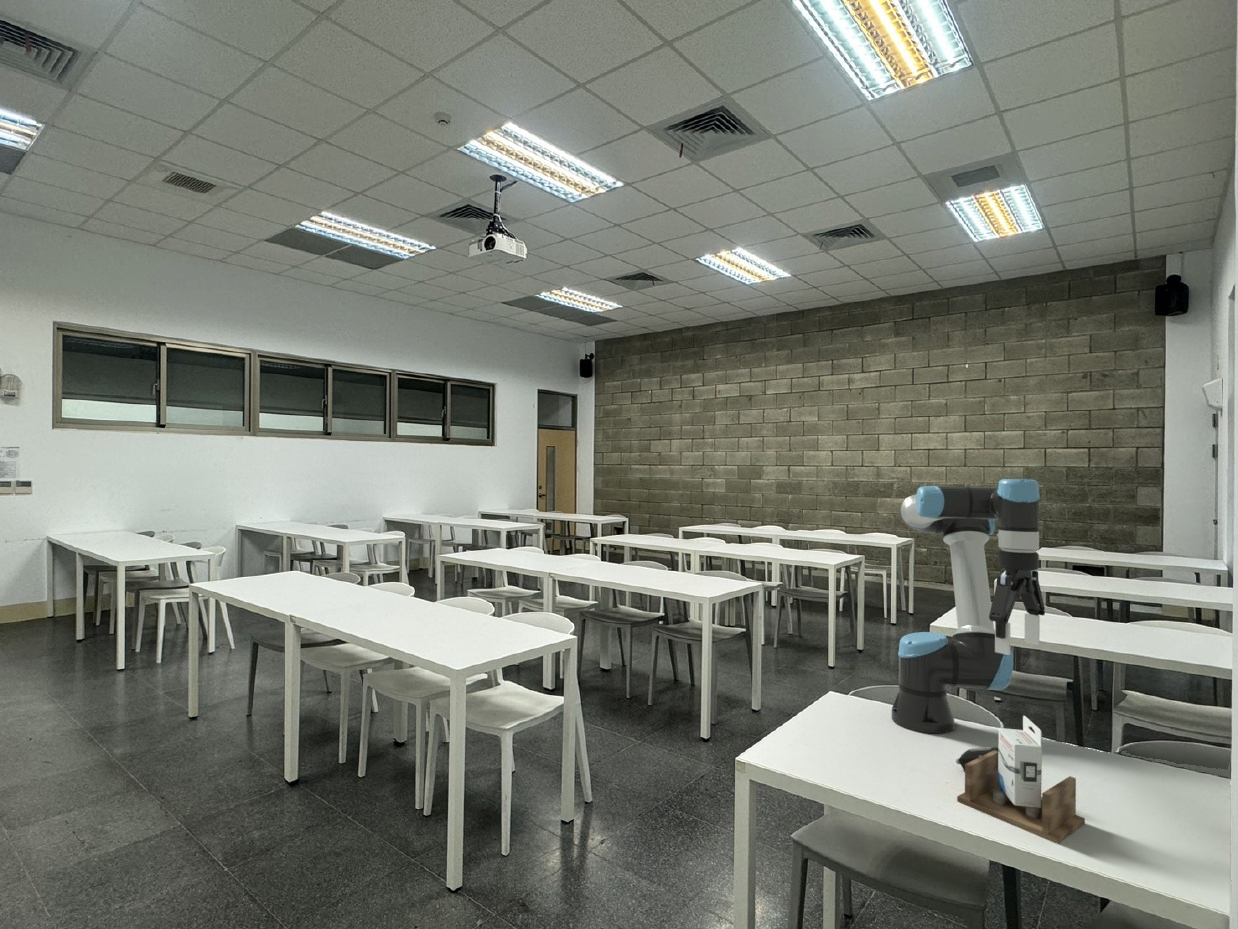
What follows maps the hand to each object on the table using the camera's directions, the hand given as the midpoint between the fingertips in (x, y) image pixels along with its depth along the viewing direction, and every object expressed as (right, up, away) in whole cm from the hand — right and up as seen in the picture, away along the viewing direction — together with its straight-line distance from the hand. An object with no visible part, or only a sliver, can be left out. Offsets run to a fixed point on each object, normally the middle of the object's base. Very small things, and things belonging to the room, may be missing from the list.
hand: (1017, 648), depth 140 cm
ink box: (-8, -26, -13) cm, 30 cm away
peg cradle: (-8, -29, -13) cm, 32 cm away
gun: (-5, -29, +1) cm, 29 cm away
